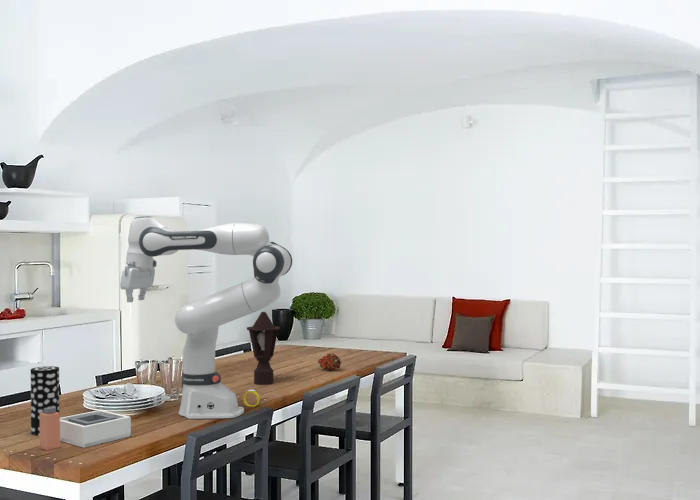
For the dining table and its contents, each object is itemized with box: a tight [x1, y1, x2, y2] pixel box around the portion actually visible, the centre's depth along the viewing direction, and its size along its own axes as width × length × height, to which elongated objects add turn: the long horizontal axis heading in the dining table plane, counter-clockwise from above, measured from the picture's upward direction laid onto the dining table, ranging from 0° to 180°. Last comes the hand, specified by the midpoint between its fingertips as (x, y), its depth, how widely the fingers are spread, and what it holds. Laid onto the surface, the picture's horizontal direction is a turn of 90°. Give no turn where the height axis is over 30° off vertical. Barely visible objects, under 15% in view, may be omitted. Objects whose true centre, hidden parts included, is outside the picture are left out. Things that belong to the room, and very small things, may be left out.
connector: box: [39, 407, 61, 451], centre depth 220 cm, size 4×4×12 cm
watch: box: [242, 389, 261, 408], centre depth 274 cm, size 6×3×6 cm, turn 70°
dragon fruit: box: [317, 352, 342, 372], centre depth 351 cm, size 8×8×12 cm
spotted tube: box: [30, 365, 60, 436], centre depth 237 cm, size 8×8×20 cm
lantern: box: [246, 311, 281, 386], centre depth 319 cm, size 15×15×30 cm
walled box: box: [60, 409, 132, 449], centre depth 231 cm, size 16×16×6 cm
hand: (135, 301), depth 267 cm, fingers open, 8 cm apart
